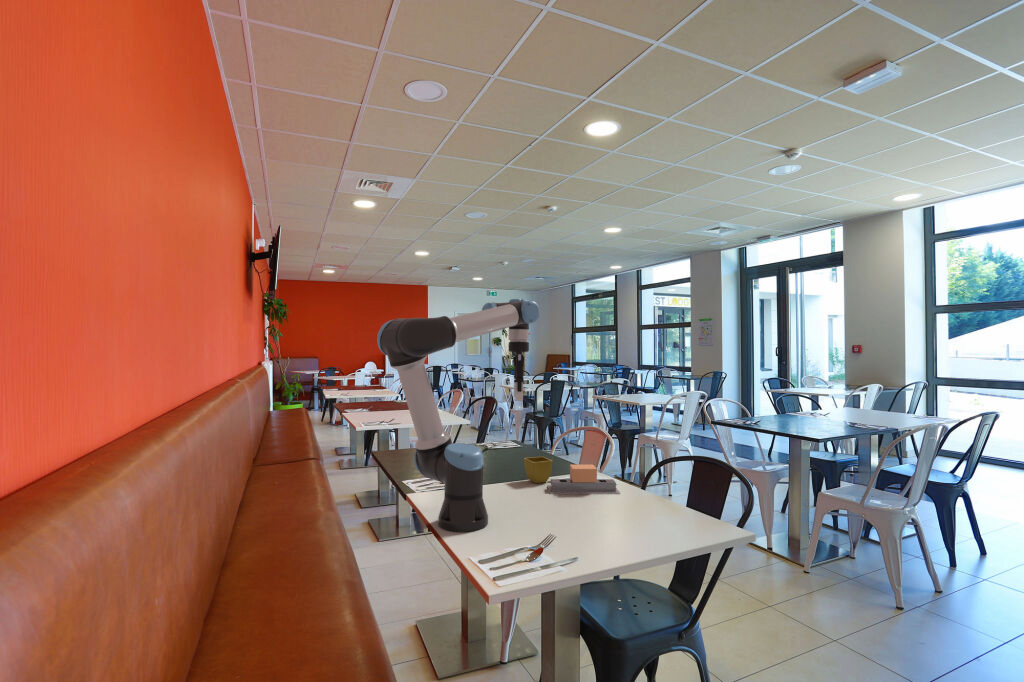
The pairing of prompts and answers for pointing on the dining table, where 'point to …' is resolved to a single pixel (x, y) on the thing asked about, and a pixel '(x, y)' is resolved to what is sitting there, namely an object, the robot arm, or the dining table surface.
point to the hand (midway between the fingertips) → (518, 398)
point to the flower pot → (538, 469)
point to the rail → (582, 487)
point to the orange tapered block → (583, 473)
